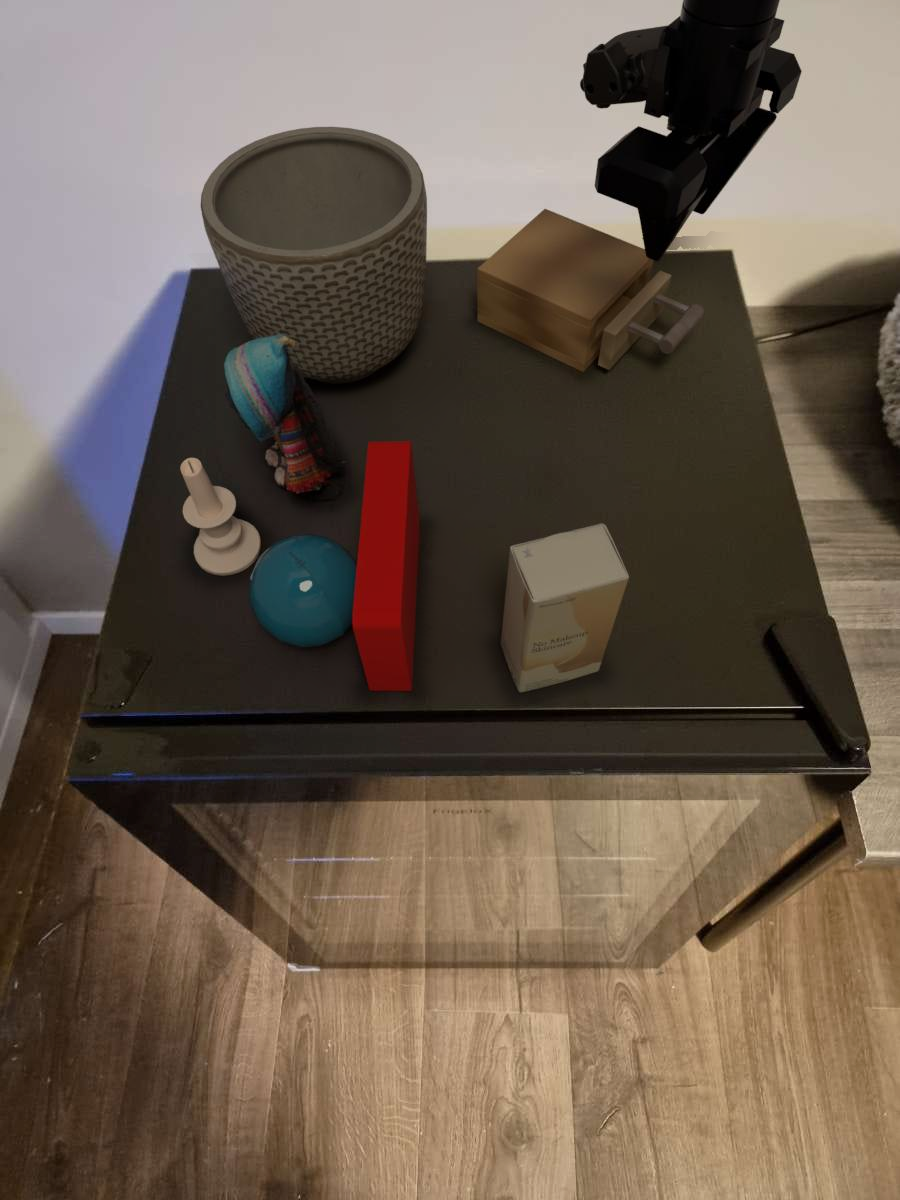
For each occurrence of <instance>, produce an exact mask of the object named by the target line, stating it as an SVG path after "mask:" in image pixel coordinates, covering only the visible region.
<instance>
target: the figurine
mask: <svg viewBox="0 0 900 1200" xmlns="http://www.w3.org/2000/svg"><path fill="white" fill-rule="evenodd" d="M288 347H297V346H296V343H295V340H292V339H290V338H288V337H286V336H285V335H282V334H278V335H275V336H271V337H261V338H258V339H255V340H253V339H252V340H249V341H247V342H245V343H242V344H241V345H239V346H235V347H234V348H232V349H231V350H230V351H229V352H228V353H227V355H226V357H225V360H224V362H223V368H224V369H223V370H224V375H225V379H226V386H227V388H226V389H227V392H226V394H224V395H225V397H226V399H227V401H228V404H229V408H231V409H233V410H234V412H235V413H236V414H237V417H238V418H239V419H240V421H241V422H242V424H243V425H244V427H245V429H248V430H249V429H250V430H251V433H252V434H253V435H254V436H255V438H256V439H257V440H258V441H259V442H263V441H265V440H267V439H270V438H273V439H274V440H275V441H274V444H273V445H272V446H270V447H268V448H267V450H266V451H265V457H264V458H265V460H266V462H267V464H268V467H270V468H273V469H275V472H274V480H275V482H276V484H277V486H278V487H280V488H282V489H286V490H287V491H288V492H290V493H296V494H297V495H298V494H301V497H303V498H308V497H310V498H311V499H313V500H315V501H319V502H328V501H336V500H339V499H341V498H342V496H343V495H344V494H345V476H344V475H345V473H346V472H345V469H344V467H343V463H345V461H342V460H341V458H340V456H339V453H338V450H337V448H336V447H335V445H334V444H335V443H334V440H333V439H332V436H331V433H330V431H329V427H328V423H327V420H326V418H325V415H324V413H323V411H322V409H321V407H320V404H319V402H318V401H317V399H316V397H315V394H314V393H313V390H312V388H311V387H310V385H309V384H308V383H307V381H306V379H305V377H303V375H302V373H301V371H300V369H299V368H298V367H297V366H294V368H293V369H292V366H291V362H290V358H289V354H288V352H287V348H288Z"/></svg>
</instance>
